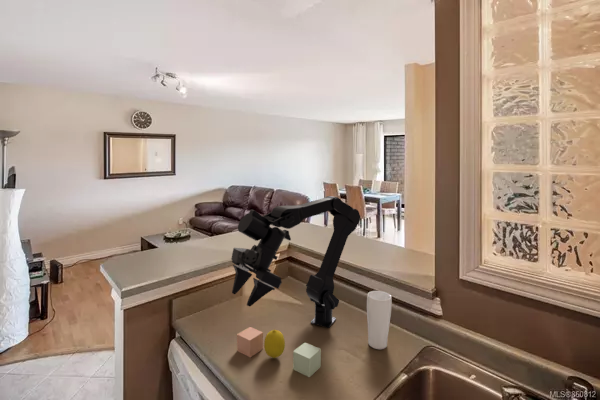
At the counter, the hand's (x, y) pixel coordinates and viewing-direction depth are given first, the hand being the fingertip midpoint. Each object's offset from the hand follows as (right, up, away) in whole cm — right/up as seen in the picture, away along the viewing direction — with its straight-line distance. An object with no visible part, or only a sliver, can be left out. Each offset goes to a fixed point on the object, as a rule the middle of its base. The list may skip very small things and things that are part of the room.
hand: (240, 299), depth 86 cm
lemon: (+9, -16, 0) cm, 18 cm away
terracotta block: (+2, -15, +3) cm, 16 cm away
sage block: (+18, -16, -4) cm, 25 cm away
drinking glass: (+38, -15, +6) cm, 42 cm away
